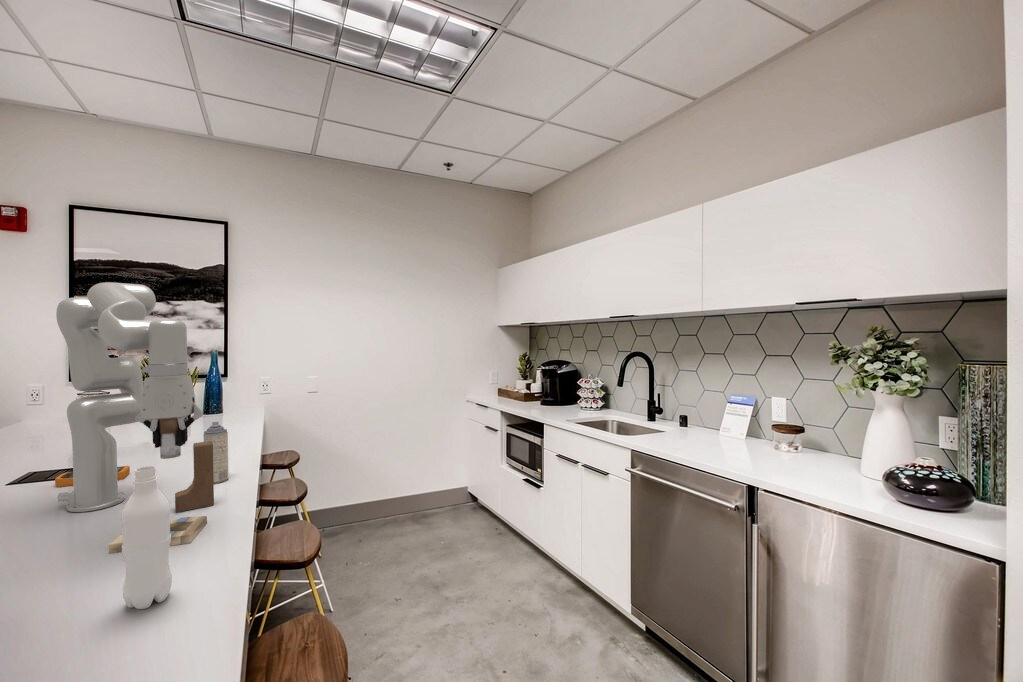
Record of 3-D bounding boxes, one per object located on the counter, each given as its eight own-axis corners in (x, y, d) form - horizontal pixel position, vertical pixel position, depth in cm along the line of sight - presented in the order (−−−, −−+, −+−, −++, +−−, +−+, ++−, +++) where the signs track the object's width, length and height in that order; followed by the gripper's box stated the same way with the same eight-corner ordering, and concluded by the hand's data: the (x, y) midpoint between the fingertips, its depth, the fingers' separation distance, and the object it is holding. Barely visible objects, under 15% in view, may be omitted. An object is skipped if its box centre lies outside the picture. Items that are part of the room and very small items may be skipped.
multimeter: (63, 481, 156) (63, 471, 156) (130, 473, 164) (130, 464, 164) (52, 489, 148) (52, 478, 148) (123, 481, 156) (123, 470, 156)
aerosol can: (232, 477, 159) (231, 419, 158) (222, 483, 152) (221, 423, 152) (210, 478, 158) (209, 420, 157) (200, 485, 151) (199, 424, 151)
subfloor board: (108, 553, 105) (108, 543, 105) (133, 531, 116) (133, 522, 116) (190, 543, 110) (190, 534, 110) (207, 523, 121) (206, 514, 121)
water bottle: (141, 591, 89) (138, 463, 89) (180, 589, 90) (178, 462, 89) (112, 614, 82) (109, 475, 82) (155, 612, 83) (152, 474, 82)
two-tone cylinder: (157, 459, 111) (156, 409, 110) (164, 455, 114) (163, 406, 114) (176, 457, 112) (175, 408, 112) (183, 453, 116) (182, 405, 115)
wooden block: (175, 513, 128) (174, 448, 127) (175, 508, 131) (173, 445, 131) (214, 505, 133) (213, 443, 133) (212, 500, 137) (211, 440, 136)
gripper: (119, 373, 107) (121, 452, 107) (202, 371, 112) (204, 446, 112) (135, 371, 114) (137, 444, 114) (213, 368, 119) (214, 439, 119)
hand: (170, 444), depth 113 cm, fingers closed on two-tone cylinder, 4 cm apart
